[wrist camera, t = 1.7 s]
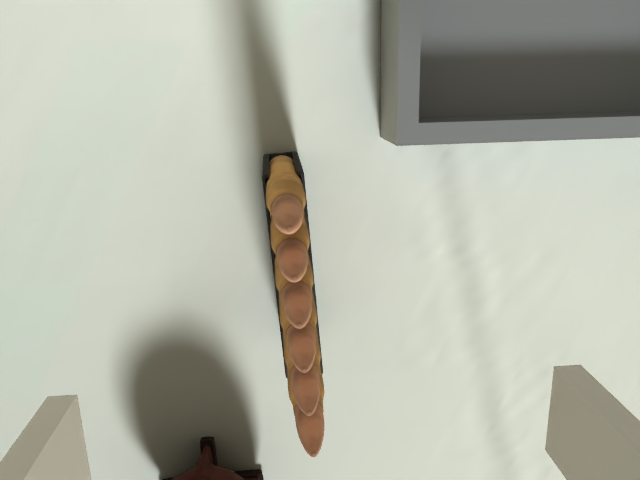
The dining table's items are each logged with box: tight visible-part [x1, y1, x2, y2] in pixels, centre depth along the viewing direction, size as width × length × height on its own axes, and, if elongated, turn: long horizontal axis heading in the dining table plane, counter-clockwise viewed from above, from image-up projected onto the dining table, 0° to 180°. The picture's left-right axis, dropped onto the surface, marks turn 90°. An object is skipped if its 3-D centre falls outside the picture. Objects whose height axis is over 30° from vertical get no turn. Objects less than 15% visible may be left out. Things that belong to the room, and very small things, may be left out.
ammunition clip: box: [262, 152, 324, 457], centre depth 25 cm, size 11×2×12 cm, turn 5°
